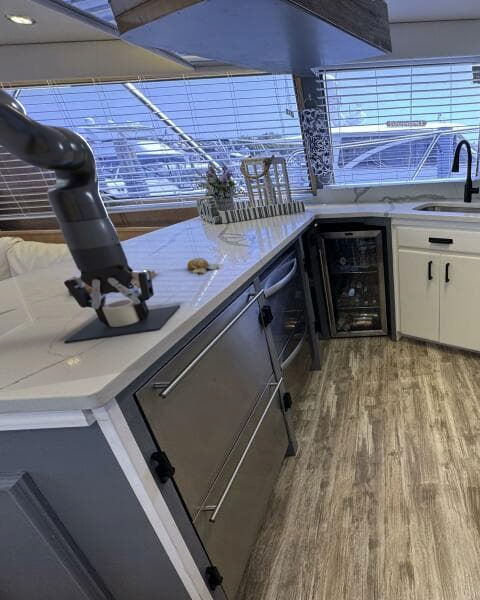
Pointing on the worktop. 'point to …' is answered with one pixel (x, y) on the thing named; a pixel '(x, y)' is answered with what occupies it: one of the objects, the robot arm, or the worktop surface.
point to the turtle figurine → (199, 266)
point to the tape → (120, 313)
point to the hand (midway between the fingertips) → (127, 320)
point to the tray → (127, 288)
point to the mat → (101, 330)
